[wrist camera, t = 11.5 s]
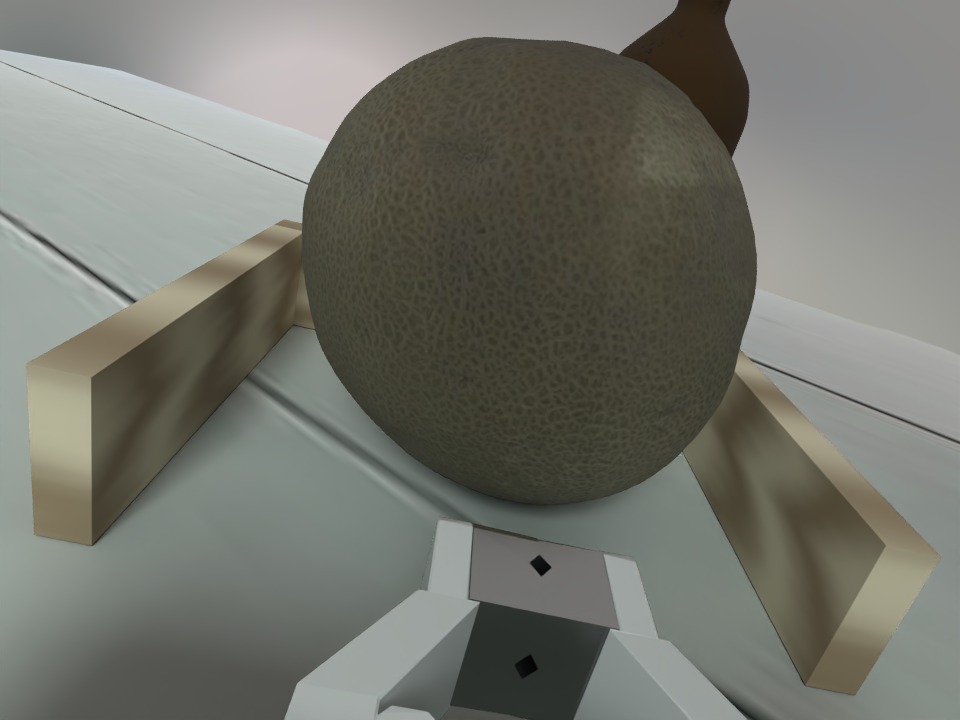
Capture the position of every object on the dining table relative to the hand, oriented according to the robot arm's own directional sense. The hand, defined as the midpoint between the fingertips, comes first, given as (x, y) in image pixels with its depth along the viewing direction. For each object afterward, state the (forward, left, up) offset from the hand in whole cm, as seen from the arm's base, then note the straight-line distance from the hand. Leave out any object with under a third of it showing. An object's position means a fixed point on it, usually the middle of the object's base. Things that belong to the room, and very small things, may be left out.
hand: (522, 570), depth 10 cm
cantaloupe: (-8, -11, -7) cm, 15 cm away
